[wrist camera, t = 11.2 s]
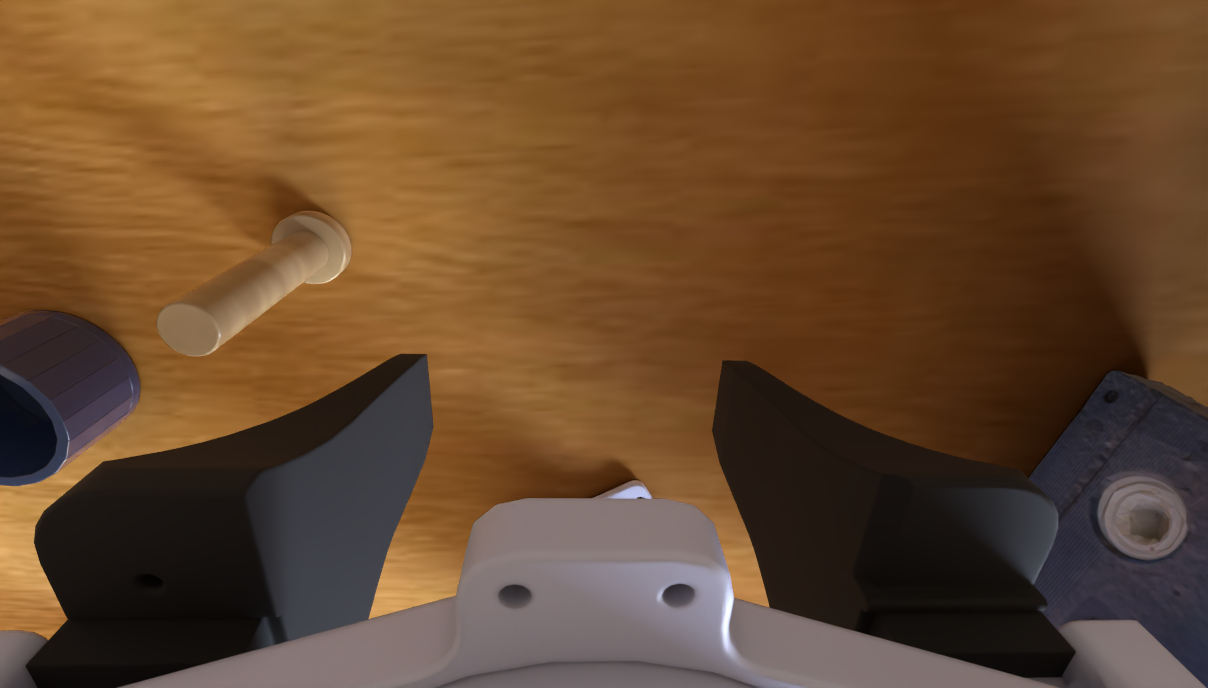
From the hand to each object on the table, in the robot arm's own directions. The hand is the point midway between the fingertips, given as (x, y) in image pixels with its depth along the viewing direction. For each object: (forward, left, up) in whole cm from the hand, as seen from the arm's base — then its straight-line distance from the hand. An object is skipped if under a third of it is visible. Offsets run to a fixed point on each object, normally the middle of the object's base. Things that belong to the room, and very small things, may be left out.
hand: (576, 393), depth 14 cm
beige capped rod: (+6, +8, -9) cm, 14 cm away
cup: (+6, +20, -9) cm, 23 cm away
